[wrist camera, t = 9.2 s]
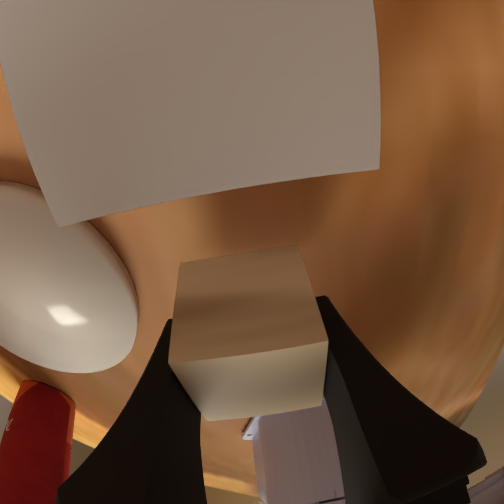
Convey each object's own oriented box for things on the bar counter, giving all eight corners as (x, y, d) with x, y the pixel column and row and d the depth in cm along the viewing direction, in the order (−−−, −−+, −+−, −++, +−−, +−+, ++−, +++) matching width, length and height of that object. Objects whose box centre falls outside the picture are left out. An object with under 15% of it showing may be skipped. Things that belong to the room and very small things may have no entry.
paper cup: (-3, 369, 19) (-36, 507, 8) (59, 376, 19) (33, 545, 8) (41, 410, 23) (23, 528, 12) (101, 418, 24) (90, 552, 13)
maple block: (301, 320, 13) (321, 405, 10) (207, 335, 13) (207, 421, 10) (297, 244, 10) (328, 340, 7) (180, 262, 11) (167, 362, 7)
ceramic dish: (144, 373, 19) (143, 386, 18) (-13, 338, 16) (-18, 348, 15) (138, 191, 11) (132, 204, 10) (-74, 178, 9) (-85, 187, 8)
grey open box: (297, 100, 10) (379, 169, 5) (136, 130, 10) (58, 227, 5) (276, -49, 6) (339, -135, 1) (104, -13, 6) (-11, -47, 1)
